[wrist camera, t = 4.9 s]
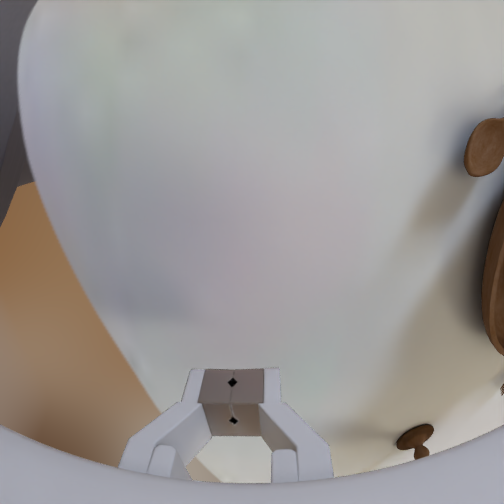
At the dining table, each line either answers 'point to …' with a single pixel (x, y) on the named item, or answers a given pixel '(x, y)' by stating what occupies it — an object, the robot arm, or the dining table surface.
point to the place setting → (496, 264)
